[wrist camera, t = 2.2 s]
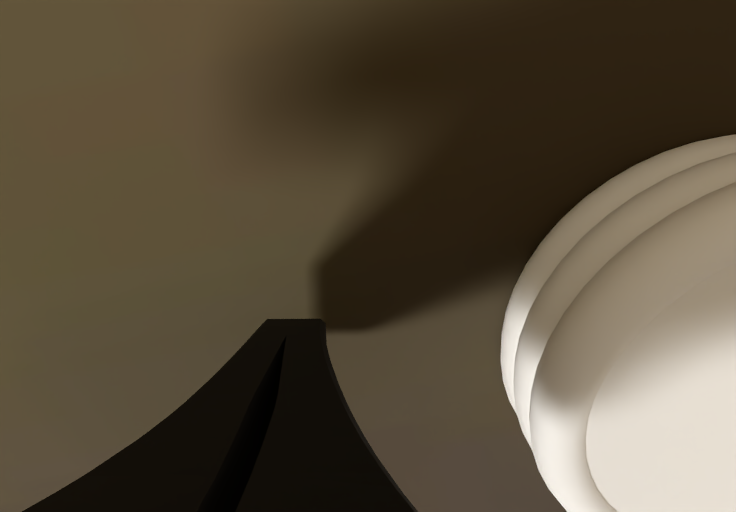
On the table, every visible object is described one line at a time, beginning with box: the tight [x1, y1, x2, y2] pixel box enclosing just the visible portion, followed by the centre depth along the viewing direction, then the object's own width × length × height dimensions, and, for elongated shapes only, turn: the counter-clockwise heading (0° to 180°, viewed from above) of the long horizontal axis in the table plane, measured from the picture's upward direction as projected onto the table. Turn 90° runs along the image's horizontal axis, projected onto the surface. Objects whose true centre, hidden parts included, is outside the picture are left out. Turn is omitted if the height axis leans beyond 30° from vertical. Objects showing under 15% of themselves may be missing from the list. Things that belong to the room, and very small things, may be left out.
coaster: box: [501, 135, 736, 512], centre depth 11 cm, size 10×10×4 cm
